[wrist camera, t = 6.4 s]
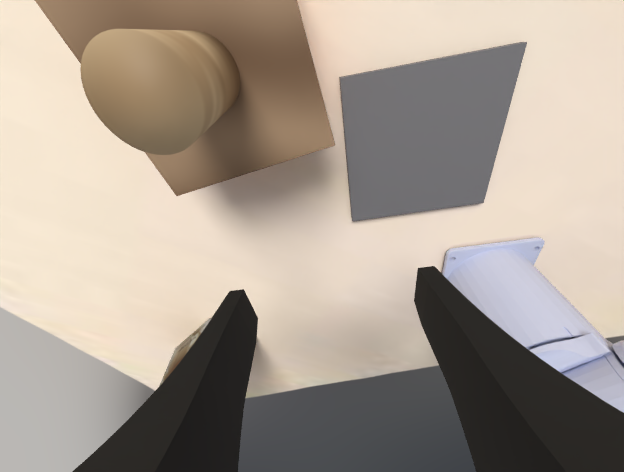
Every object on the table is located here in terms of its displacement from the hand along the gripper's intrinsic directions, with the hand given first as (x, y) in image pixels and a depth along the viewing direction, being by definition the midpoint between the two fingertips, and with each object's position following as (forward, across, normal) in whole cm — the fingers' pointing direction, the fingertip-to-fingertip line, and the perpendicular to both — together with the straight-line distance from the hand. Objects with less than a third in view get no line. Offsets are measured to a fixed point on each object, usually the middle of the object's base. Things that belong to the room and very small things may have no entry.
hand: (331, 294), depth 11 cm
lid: (+6, +4, -8) cm, 11 cm away
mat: (+10, -7, -2) cm, 13 cm away
